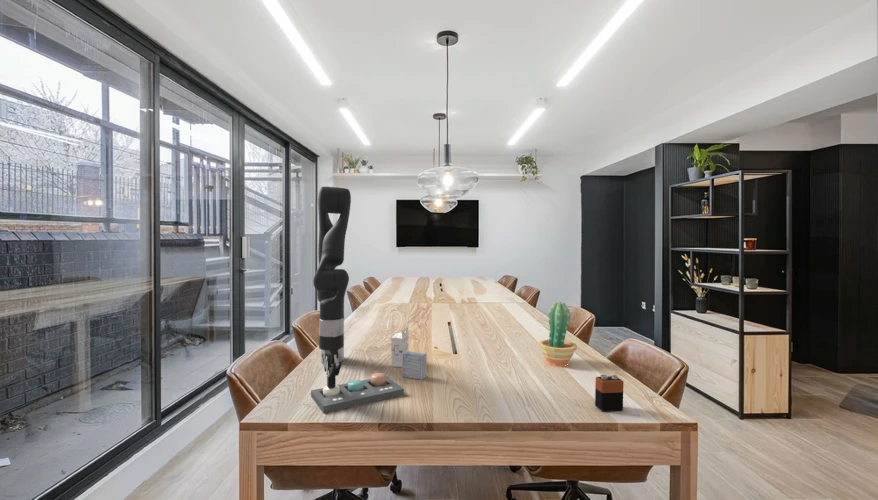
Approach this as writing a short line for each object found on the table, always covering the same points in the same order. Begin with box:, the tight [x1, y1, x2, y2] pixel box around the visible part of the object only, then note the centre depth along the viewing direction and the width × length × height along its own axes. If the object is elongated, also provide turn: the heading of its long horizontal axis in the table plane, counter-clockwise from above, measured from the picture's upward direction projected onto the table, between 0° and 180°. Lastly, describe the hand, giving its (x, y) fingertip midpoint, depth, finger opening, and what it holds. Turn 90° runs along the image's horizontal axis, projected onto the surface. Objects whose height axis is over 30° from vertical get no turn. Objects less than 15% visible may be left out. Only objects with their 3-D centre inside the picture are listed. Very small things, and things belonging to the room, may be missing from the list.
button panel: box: [310, 375, 405, 414], centre depth 126 cm, size 14×26×2 cm, turn 122°
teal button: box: [347, 379, 364, 392], centre depth 127 cm, size 5×5×3 cm
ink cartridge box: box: [390, 326, 409, 368], centre depth 158 cm, size 9×5×15 cm, turn 168°
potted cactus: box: [538, 301, 578, 367], centre depth 161 cm, size 15×15×25 cm
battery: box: [594, 374, 624, 412], centre depth 118 cm, size 4×7×10 cm, turn 96°
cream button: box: [322, 384, 340, 398], centre depth 123 cm, size 5×5×3 cm
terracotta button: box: [370, 372, 387, 387], centre depth 132 cm, size 5×5×3 cm
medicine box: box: [402, 350, 428, 381], centre depth 144 cm, size 8×4×9 cm, turn 65°
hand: (331, 387), depth 123 cm, fingers closed
